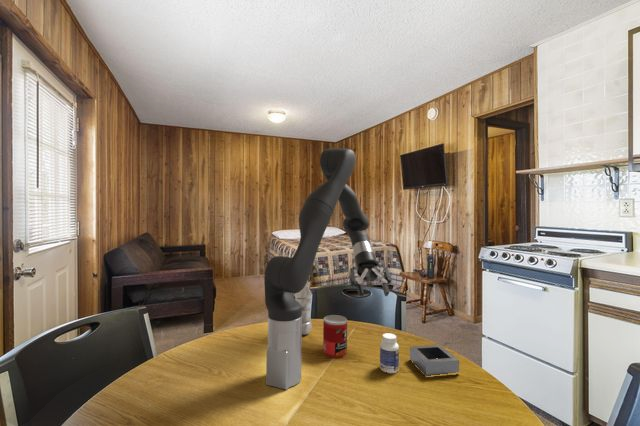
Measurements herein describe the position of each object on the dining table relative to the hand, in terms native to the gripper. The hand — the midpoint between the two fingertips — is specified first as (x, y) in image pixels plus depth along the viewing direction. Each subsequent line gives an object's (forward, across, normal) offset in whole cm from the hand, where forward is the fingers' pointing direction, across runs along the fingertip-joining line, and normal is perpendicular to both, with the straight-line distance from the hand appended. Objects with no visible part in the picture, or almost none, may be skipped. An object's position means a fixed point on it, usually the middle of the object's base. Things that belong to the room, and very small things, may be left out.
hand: (374, 295), depth 99 cm
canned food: (+13, -14, +13) cm, 23 cm away
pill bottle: (+22, 0, +4) cm, 22 cm away
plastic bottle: (+1, -22, +25) cm, 33 cm away
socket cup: (+22, +13, +4) cm, 26 cm away
